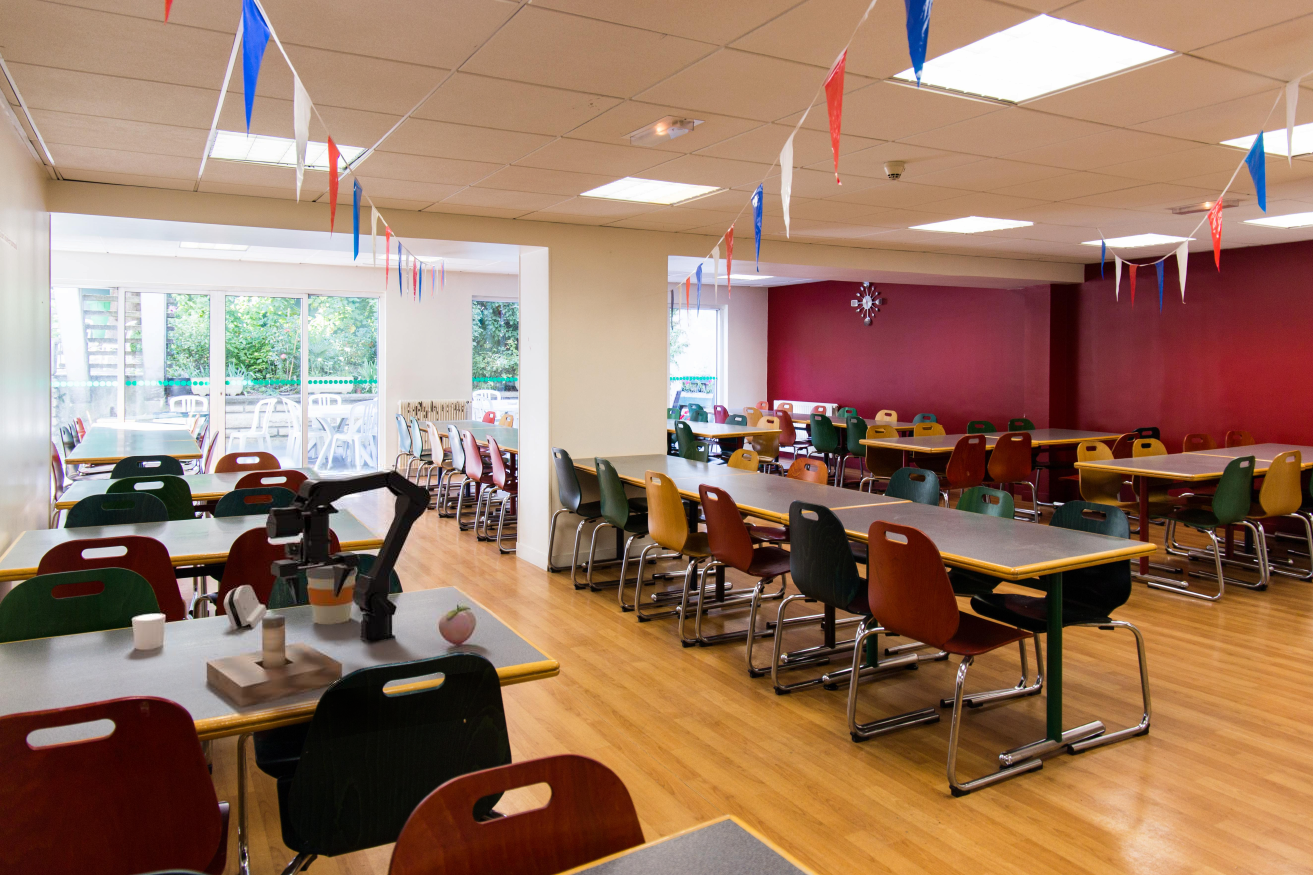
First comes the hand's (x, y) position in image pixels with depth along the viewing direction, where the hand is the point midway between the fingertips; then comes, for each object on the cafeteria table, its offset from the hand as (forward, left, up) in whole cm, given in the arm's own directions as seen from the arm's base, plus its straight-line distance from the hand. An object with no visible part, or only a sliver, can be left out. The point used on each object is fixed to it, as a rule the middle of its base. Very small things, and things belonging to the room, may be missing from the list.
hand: (316, 600), depth 198 cm
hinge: (+3, -37, -12) cm, 39 cm away
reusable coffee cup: (-14, -23, -12) cm, 30 cm away
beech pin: (+15, +14, -12) cm, 23 cm away
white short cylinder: (+27, -30, -12) cm, 42 cm away
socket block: (+15, +14, -12) cm, 23 cm away
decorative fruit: (-26, +18, -12) cm, 34 cm away
